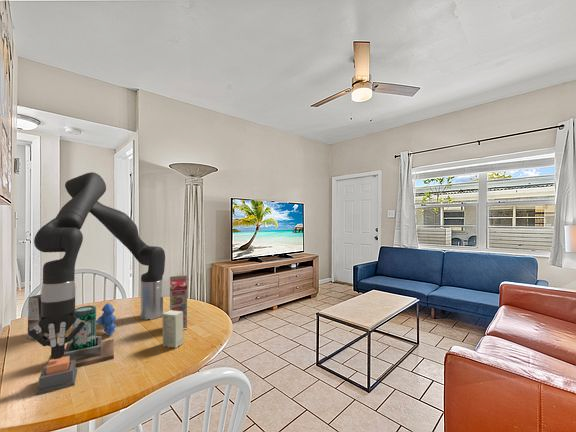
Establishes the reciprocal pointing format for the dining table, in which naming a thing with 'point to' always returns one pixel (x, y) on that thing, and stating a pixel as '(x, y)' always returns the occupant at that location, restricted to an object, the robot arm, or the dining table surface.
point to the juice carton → (179, 296)
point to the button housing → (57, 379)
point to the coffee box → (34, 314)
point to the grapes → (107, 319)
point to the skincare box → (172, 328)
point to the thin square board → (91, 352)
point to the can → (85, 328)
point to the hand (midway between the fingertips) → (57, 357)
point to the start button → (58, 365)
